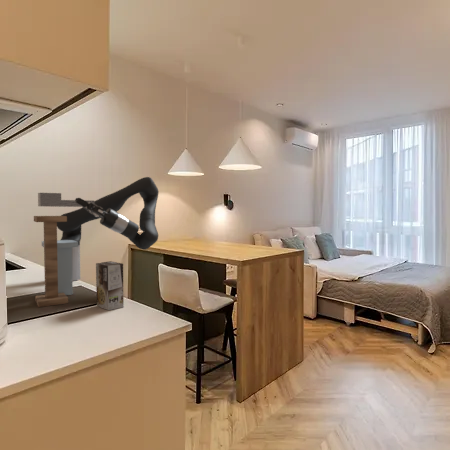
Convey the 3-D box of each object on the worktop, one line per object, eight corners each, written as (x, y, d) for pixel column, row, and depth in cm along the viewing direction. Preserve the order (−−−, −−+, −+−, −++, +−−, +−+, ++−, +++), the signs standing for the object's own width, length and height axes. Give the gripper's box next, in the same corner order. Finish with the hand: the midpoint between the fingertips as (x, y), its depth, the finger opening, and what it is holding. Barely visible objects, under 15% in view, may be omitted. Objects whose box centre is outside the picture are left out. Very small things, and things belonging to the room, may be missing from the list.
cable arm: (38, 206, 132) (37, 193, 132) (91, 206, 143) (91, 194, 143) (40, 206, 126) (40, 192, 126) (95, 206, 137) (95, 194, 137)
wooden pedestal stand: (35, 300, 134) (33, 215, 133) (63, 297, 140) (62, 215, 138) (38, 307, 126) (36, 216, 125) (68, 303, 132) (66, 216, 130)
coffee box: (124, 307, 127) (124, 263, 126) (108, 310, 122) (107, 265, 122) (111, 302, 133) (111, 260, 133) (95, 305, 129) (95, 262, 128)
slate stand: (42, 292, 147) (41, 241, 146) (72, 289, 154) (72, 239, 153) (46, 298, 138) (45, 243, 136) (78, 294, 144) (77, 242, 143)
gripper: (114, 212, 152) (77, 192, 143) (124, 213, 140) (85, 191, 131) (105, 228, 150) (67, 207, 141) (115, 229, 139) (74, 208, 130)
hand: (76, 199), depth 136 cm, fingers closed on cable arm, 3 cm apart
